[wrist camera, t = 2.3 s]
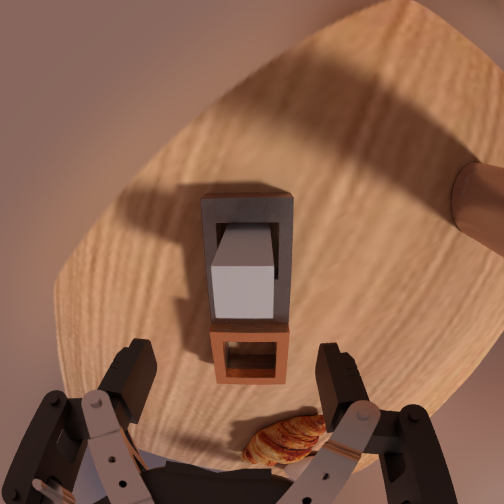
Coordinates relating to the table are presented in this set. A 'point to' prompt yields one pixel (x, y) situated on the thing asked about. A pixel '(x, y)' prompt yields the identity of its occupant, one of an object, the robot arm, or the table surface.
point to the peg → (244, 272)
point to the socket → (275, 328)
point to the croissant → (285, 441)
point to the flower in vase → (297, 467)
